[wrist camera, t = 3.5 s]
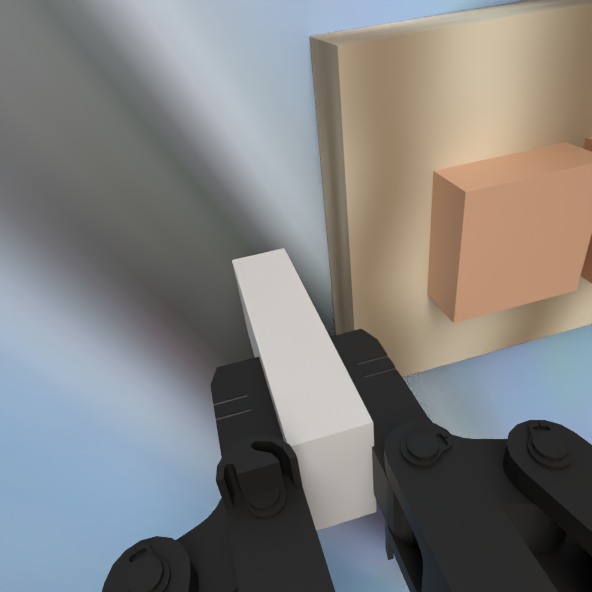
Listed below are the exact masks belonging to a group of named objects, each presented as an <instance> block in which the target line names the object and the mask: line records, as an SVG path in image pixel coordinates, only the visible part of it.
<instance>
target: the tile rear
mask: <svg viewBox="0 0 592 592" xmlns="http://www.w3.org/2000/svg"><path fill="white" fill-rule="evenodd" d="M583 149H586V150H588V151H591V152H592V136H591V137H587V138H586V139H585V143H584V147H583ZM581 277H583V278H584V279H586V280H587V281H589V282H590V283H592V234H591V238H590V242H589V245H588V249H587V253H586V257H585V260H584V264H583V268H582V272H581Z"/></svg>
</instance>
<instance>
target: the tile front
mask: <svg viewBox="0 0 592 592" xmlns="http://www.w3.org/2000/svg"><path fill="white" fill-rule="evenodd" d="M591 234H592V152H591V151H588V150H586V149H583V148H581V147H578V146H575V145H573V144H570V143H567V142H564V143H559V144H554V145H550V146H545V147H540V148H536V149H531V150H527V151H522V152H517V153H513V154H508V155H503V156H499V157H494V158H490V159H485V160H480V161H476V162H471V163H467V164H462V165H457V166H453V167H448V168H443V169H439V170H434V171H433V187H432V207H431V228H430V248H429V268H428V288H427V294H428V295H429V296H430V298H431V299H432V300H433V301H434V302H435V303H436V304H437V305H438V306H439V308H440V309H441V310H442V311H443V312H444V313H445V314H446V315H447V316H448V318H449V319H450V320H451V321H452V322H453V323H457V322H461V321H465V320H468V319H472V318H476V317H480V316H483V315H487V314H491V313H494V312H498V311H502V310H506V309H509V308H513V307H517V306H521V305H524V304H528V303H532V302H536V301H539V300H543V299H547V298H550V297H554V296H558V295H562V294H565V293H569V292H573V291H577V287H578V283H579V279H580V276H581V272H582V268H583V264H584V260H585V257H586V253H587V249H588V245H589V242H590V238H591Z"/></svg>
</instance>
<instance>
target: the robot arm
mask: <svg viewBox="0 0 592 592" xmlns="http://www.w3.org/2000/svg"><path fill="white" fill-rule="evenodd" d="M232 263H233V267H234V272H235V276H236V281H237V285H238V290H239V294H240V299H241V303H242V308H243V312H244V316H245V321H246V325H247V330H248V334H249V338H250V342H251V345H252V349H253V352H254V356H255V358H252V359H248V360H244V361H240V362H236V363H232V364H229V365H225V366H221V367H217V369H216V372H215V374H214V377H213V380H212V383H211V391H212V398H213V404H214V411H215V417H216V423H217V430H218V436H219V443H220V449H221V456H222V458H221V460H220V462H219V464H218V466H217V474H216V482H217V485H218V488H219V491H220V494H221V496H222V498H221V500H220V502H219V504H218V506H217V507H216V509H215V510H214V511H213V512H212V514H211V515H210V516H209V517H208V518H207V519H206V520H204V521H203V522H202V523H201V524H199V525H198V526H197V527H195V528H194V529H192V530H191V531H189V532H188V533H186V534H185V535H183V536H182V537H180V538H179V539H177V540H176V541H175V540H174V539H172V538H167V537H159V536H156V537H152V538H149V539H145V540H141V541H139V542H138V543H136V544H135V545H133V546H132V547H130V548H129V549H127V550H126V551H125V552H124V553H123V554H122V555H121V556H120V557H119V559H118V560H117V561H116V562H115V563H114V564H113V566H112V568H111V570H110V572H109V574H108V576H107V579H106V581H105V583H104V586H103V590H102V592H335V590H334V586H333V583H332V580H331V577H330V573H329V570H328V567H327V564H326V561H325V557H324V554H323V551H322V548H321V544H320V541H319V538H318V535H317V532H316V531H318V530H321V529H324V528H327V527H331V526H334V525H337V524H340V523H343V522H346V521H349V520H353V519H356V518H359V517H362V516H365V515H368V514H371V513H374V512H376V500H377V502H378V504H379V506H380V509H381V511H382V513H383V515H384V518H385V535H386V552H387V557H388V560H390V559H393V553H394V555H395V558H396V560H397V562H398V565H399V567H400V569H401V572H402V574H403V576H404V579H405V581H406V583H407V586H408V588H409V591H410V592H592V445H591V444H590V443H588V442H587V441H586V440H584V439H583V438H582V437H580V436H579V435H578V434H576V433H575V432H573V431H571V430H569V429H568V428H566V427H564V426H562V425H560V424H557V423H553V422H549V421H546V420H529V421H526V422H523V423H520V424H517V425H516V426H515V427H514V428H513V429H512V430H511V431H510V432H509V435H508V439H469V438H462V437H458V436H455V435H451V434H450V433H449V432H448V431H447V430H446V429H444V428H442V427H440V426H438V425H436V424H434V423H433V422H432V421H431V420H430V419H429V418H428V417H427V415H426V414H425V412H424V411H423V409H422V407H421V406H420V404H419V403H418V401H417V400H416V398H415V397H414V395H413V393H412V392H411V390H410V389H409V387H408V386H407V384H406V383H405V381H404V379H403V378H402V376H401V375H400V373H399V372H398V370H396V368H395V365H394V364H393V362H392V361H391V359H390V358H388V355H387V353H386V351H385V350H384V348H383V347H382V345H381V344H380V342H379V341H378V339H376V338H375V337H373V336H372V335H370V334H369V333H367V332H366V331H364V330H363V329H358V330H354V331H350V332H346V333H342V334H338V335H335V336H331V337H329V335H328V333H327V331H326V329H325V327H324V325H323V323H322V321H321V319H320V317H319V315H318V313H317V311H316V309H315V307H314V305H313V303H312V301H311V300H310V298H309V296H308V294H307V292H306V290H305V288H304V286H303V284H302V282H301V280H300V278H299V276H298V274H297V272H296V270H295V268H294V266H293V264H292V262H291V260H290V258H289V257H288V255H287V253H286V251H285V249H284V248H283V249H279V250H274V251H270V252H266V253H261V254H257V255H253V256H248V257H244V258H240V259H235V260H232Z"/></svg>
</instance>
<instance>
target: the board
mask: <svg viewBox="0 0 592 592" xmlns="http://www.w3.org/2000/svg"><path fill="white" fill-rule="evenodd" d="M310 47H311V58H312V69H313V81H314V92H315V103H316V115H317V126H318V137H319V149H320V160H321V172H322V183H323V194H324V206H325V217H326V228H327V240H328V251H329V262H330V274H331V285H332V296H333V308H334V319H335V330H336V335H338V334H342V333H346V332H350V331H354V330H358V329H363V330H364V331H366V332H367V333H369V334H370V335H372V336H373V337H375V338H376V339H378V341H379V342H380V344H381V345H382V347H383V348H384V350H385V351H386V353H387V355H388V358H390V359H391V361H392V362H393V364H394V365H395V368H396V370H398V372H399V373H400V375H401V376H402V377H405V376H408V375H412V374H415V373H419V372H422V371H426V370H430V369H433V368H437V367H440V366H444V365H447V364H451V363H454V362H458V361H462V360H465V359H469V358H472V357H476V356H479V355H483V354H486V353H490V352H494V351H497V350H501V349H504V348H508V347H511V346H515V345H518V344H522V343H526V342H529V341H533V340H536V339H540V338H543V337H547V336H551V335H554V334H558V333H561V332H565V331H568V330H572V329H575V328H579V327H583V326H586V325H590V324H592V283H590V282H589V281H587V280H586V279H584V278H583V277H581V276H580V279H579V283H578V287H577V291H573V292H569V293H565V294H562V295H558V296H554V297H550V298H547V299H543V300H539V301H536V302H532V303H528V304H524V305H521V306H517V307H513V308H509V309H506V310H502V311H498V312H494V313H491V314H487V315H483V316H480V317H476V318H472V319H468V320H465V321H461V322H457V323H453V322H452V321H451V320H450V319H449V318H448V316H447V315H446V314H445V313H444V312H443V311H442V310H441V309H440V308H439V306H438V305H437V304H436V303H435V302H434V301H433V300H432V299H431V298H430V296H429V295H428V294H427V288H428V268H429V248H430V228H431V207H432V187H433V171H434V170H439V169H443V168H448V167H453V166H457V165H462V164H467V163H471V162H476V161H480V160H485V159H490V158H494V157H499V156H503V155H508V154H513V153H517V152H522V151H527V150H531V149H536V148H540V147H545V146H550V145H554V144H559V143H564V142H567V143H570V144H573V145H575V146H578V147H581V148H583V147H584V143H585V139H586V138H587V137H591V136H592V0H526V1H520V2H514V3H508V4H502V5H496V6H490V7H484V8H478V9H472V10H466V11H460V12H454V13H448V14H442V15H436V16H430V17H424V18H418V19H412V20H406V21H400V22H394V23H388V24H382V25H376V26H370V27H364V28H358V29H352V30H346V31H340V32H333V33H327V34H321V35H315V36H310Z"/></svg>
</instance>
